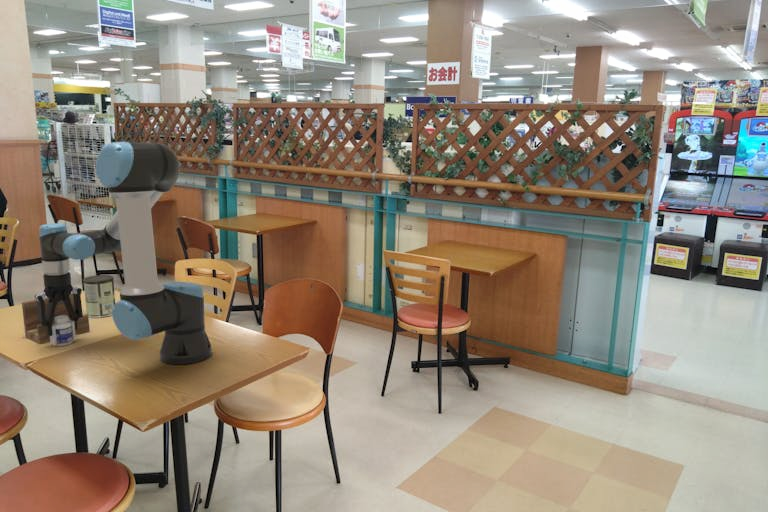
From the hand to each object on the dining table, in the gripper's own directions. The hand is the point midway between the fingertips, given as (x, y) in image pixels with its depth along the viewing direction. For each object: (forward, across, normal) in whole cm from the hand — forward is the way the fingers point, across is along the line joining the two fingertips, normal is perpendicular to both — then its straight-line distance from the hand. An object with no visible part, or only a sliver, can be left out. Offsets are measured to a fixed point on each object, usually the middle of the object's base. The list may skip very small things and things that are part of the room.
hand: (63, 342), depth 185 cm
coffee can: (+1, -24, -22) cm, 32 cm away
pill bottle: (+1, 0, 0) cm, 1 cm away
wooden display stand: (0, -3, -10) cm, 11 cm away
